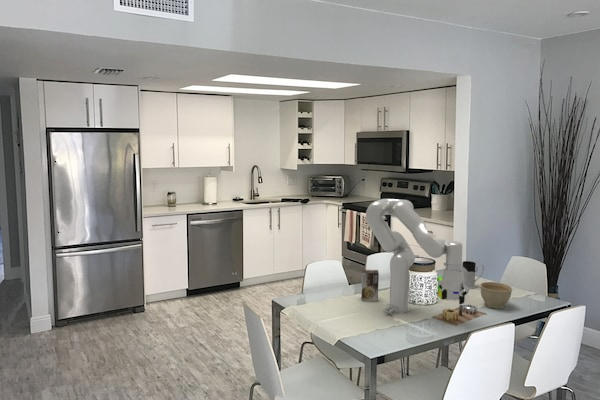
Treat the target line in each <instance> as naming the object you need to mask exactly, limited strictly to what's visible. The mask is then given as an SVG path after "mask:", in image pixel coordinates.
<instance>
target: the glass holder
mask: <svg viewBox="0 0 600 400" xmlns="http://www.w3.org/2000/svg"><path fill="white" fill-rule="evenodd" d="M479 266H482V271H481V273H480V275H479V276H478V277H477V278H476V272H478V269H479ZM484 267H485V266H484V265H483V264H481V263H479V264H478V265H477V266H476V262H474V261H471V260H470V261H469V260H465V261H464V260H463V261H462V271H463V274H464V284H465V285H466V286H468V287H469V288H470V290H474V289H476V286H475V285H476V284H475V283H476V282H477V281H478V280H479V279H480V278H481V277H482V276H483V274H484V270H485V268H484Z"/></svg>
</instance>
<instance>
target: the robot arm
mask: <svg viewBox="0 0 600 400" xmlns="http://www.w3.org/2000/svg"><path fill="white" fill-rule="evenodd" d="M386 215H388V216H395V217H396V219H398V220H399V221H400V223H402V225H404V227H406V229H407V230H409V232H410V233H411V234H412V236H413V238H414V240H415V241H416V243H417V244H418V246H419V247H420V248H421V249H422V250H423V251H424V252H425V253H426V254H427V255H428V256H429V257H432V258H433V259H437V258H440V257H442V256H443V255H445V262H444V263H443V265H444V267H445V268H444V269H443V272H442V276H441V277H442V280H440V281H438V285H439V287H440V289H441V291H442V299H441V300H447V299H446V298H447V291H446V290H450V291H454V292H459V299H458V300H459V302H458V304H459V305H464V304H465V296H467V294H468V293H469V292H470V290H471V289H470V288H469V287H468V286H466V285H465V284H464V274H463V271H462V264H463V243H462V242H460V241H454V240H453V241H450V240H446V239H442V238H441V239H440V238H439V239H434V238H433V237H432V235H431V234H430V233H429V231H428V230H427V226H426V223H425V221H424V219H423V218H421V216H420V215H419V214H418V213H417V212H416V211H414V205H413V203H412V201H410V200H408V199H395V198H381V199H378V200H375V201H372V203H370V205H368V207H367V209H366V211H365V220H366V222H367V224H368V227H369V229H370V230H371V231H372V233H373V235H374V237H375V238H376V240H377V241H378V243H379V245H380V246H381V248H382V250H384V252H386V253H393V255H392V256H391V258H390V262H389V269H390V280H389V281H390V282H389V283H390V284H389V285H390V286H389V303H388V304H387V305H388V306H385V307H384V308H383V312H384V313H388V314H389V315H390V316H396V315H400V314H404V313H408V311H410V310H411V309H410V308H409V297H410V267H411V266H412V265H413V264H414V263H415V260H416V257H415V253H414V251H413V249H412V248H411V246H410V245H409V244H408V243H409V242H407V240H406V239H405V237H404V236H403V235H402V233H400V232H398V231H396V230H395V231H394V230H392V229H391V227H390V226H389V224H388V223H387V222H386V221H385V220H384V218H383V217H384V216H386Z"/></svg>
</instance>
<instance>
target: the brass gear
mask: <svg viewBox="0 0 600 400" xmlns="http://www.w3.org/2000/svg"><path fill="white" fill-rule="evenodd" d="M454 309H455V308H449V307H448V308H444V309H442V313H443V315H442V319H444V320H447V321H451V322H453V321H454V322H455V321H458V311H457V310H454Z"/></svg>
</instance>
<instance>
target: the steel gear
mask: <svg viewBox="0 0 600 400" xmlns="http://www.w3.org/2000/svg"><path fill="white" fill-rule="evenodd" d="M462 305H463V310H462V312H465V313H468V314H470V313H471V314H474V313H475V314H476V313H477V311H478V306H476V305H473V304H471V303H470V304H465V303H464V304H462Z"/></svg>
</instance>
